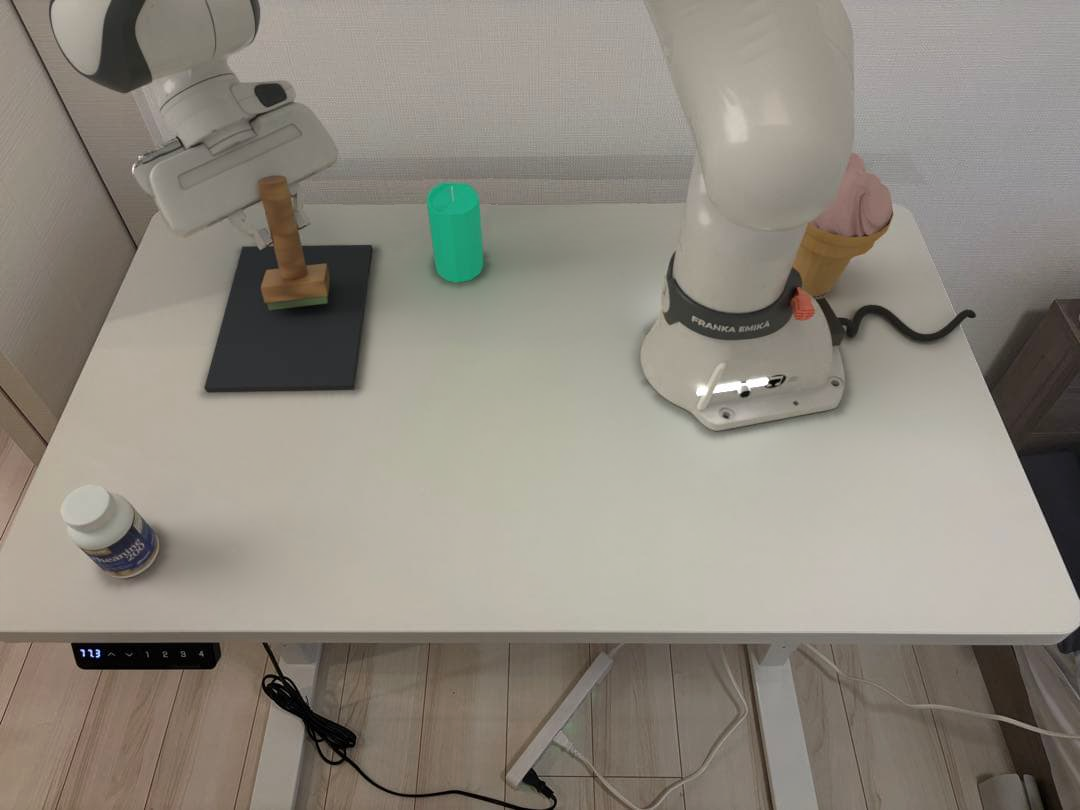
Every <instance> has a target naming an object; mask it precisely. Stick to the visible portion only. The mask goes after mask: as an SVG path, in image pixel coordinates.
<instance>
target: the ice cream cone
mask: <svg viewBox="0 0 1080 810" xmlns="http://www.w3.org/2000/svg"><path fill="white" fill-rule="evenodd" d="M893 218H894V208H893V201H892V197H891V193H890V190H889V187H888V186H887V185H885V184H883V183H882V182H881V180H880V178H879V177H878V176H877V175H875V174H873V173H870V172H867V170H866V166H865V161H864V159H863V158H862V157H860V156H859V154H857V153H855V152H854V151H852V152H851V156H850V159H849V162H848V166H847V169H846V172H845V175H844V178H843V180H842V183H841V186H840V189H839V191H838V194H837V196H836V197H835V199H834V201H833V202H832V204H831V205H830V206H829V207H828V208H827V209H826V210H825V211H824V212H823V213H822V214H821V215H820V216H818V217H817V218H816V219H814V220H813V221H811V222H809V223H808V225H807V228H806V231H805V234H804V236H803V239H802V241H801V244H800V247H799V250H798V252H797V255H796V258H795V261H794V263H793V264H794V268H795V269H796V270H797V271H798V272H799V274H800V276H801V279H802V283H803V285H802V288H801V290H803V291H806V292H807V293H809V294H810V295H811V296H812V297H819V296H823V295H825V294H826V293H828V292H829V291H831V290H832V289H833V288H834V287H835V286H836V285H837V282H838V281H839V279H840V278H841V276H842V275H843V273H844V271H845V270H846V269H847V266H848V265H849V263H850V261H851V260H852V259H854V258H855V257H858V256H862V255H865V254H866V253H868V252H869V251H870V250H871V249H872V248H873V247H874V245H875V242H877V241H878V240H879V239H881V237H883V236H884V235H885V234H886V233H887V232H888V230H889V228H890V226H891V223H892V221H893Z"/></svg>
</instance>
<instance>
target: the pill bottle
mask: <svg viewBox="0 0 1080 810" xmlns="http://www.w3.org/2000/svg"><path fill="white" fill-rule="evenodd" d="M60 515H61V518H62V520H63V521H64V522H65V523H66V524H67V525H66V527H67V528H66V529H67V535H68V537H69V539H70V540H71V541H72V543H74V544H75V545H76V547H78V548H79V549H80V550H81V551H82V552H83V553H84V554H85V555H86V556H87V557H89V559H91V560H92V562H94V563H95V564H96V565H97V566H98V567H99V568H100V569H101V570H102V571H103V572H105V573H106V575H108V576H110V577H112V578H116V579H127V578H132V577H135V576H138V575H140V574H141V573H143V572H144V571H146V570H147V569H149V568H150V567H151V565H153V563H154V561H155V560H156V559H157V558H158V557H157V556H158V554H159V551H160V540H159V537H158V535H157V534H156V532H155V531H154V530H153V528H152V527H151V525H149V524H148V522H147V521H146V520H145V519H144V518H143V517H142V515H141V514H140V513H139V512H138V511H137V509H136V508H135V507H134V506H133V504H131V502H130V501H129V500H128V499H127V498H126V497H125V496H124V495H123V496H122V495H121V494H118V493H116V492H110V491H109V490H108V489H106V487H104V486H102V485H99V484H85V485H81V486H79V487H78V488H76V489H74V490H72V491H71V492H70V493H69V494H68V495H67V496H66V497H65V498H64V500H63V502H62V504H61V506H60Z"/></svg>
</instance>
